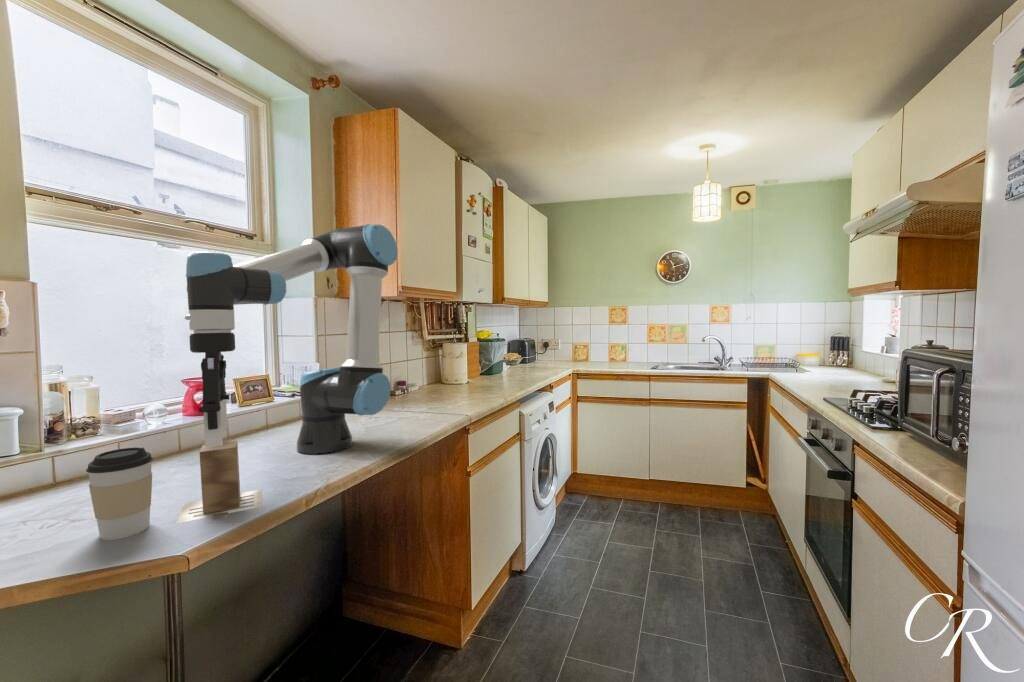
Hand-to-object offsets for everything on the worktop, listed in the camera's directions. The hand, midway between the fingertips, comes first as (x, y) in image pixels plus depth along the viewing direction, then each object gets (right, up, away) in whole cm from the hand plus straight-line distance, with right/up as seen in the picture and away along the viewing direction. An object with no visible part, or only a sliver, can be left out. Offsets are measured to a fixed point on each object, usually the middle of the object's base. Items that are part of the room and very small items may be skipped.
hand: (217, 438), depth 91 cm
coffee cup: (-10, -15, -9) cm, 21 cm away
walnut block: (0, -14, +1) cm, 14 cm away
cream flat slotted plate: (+1, -14, +1) cm, 14 cm away
